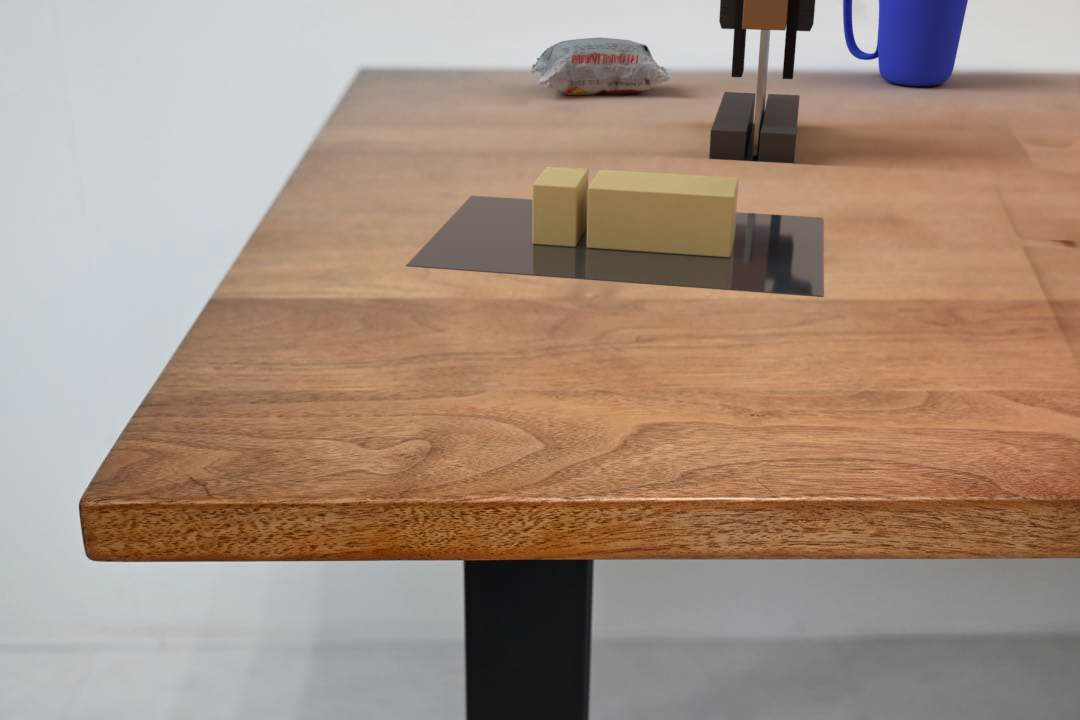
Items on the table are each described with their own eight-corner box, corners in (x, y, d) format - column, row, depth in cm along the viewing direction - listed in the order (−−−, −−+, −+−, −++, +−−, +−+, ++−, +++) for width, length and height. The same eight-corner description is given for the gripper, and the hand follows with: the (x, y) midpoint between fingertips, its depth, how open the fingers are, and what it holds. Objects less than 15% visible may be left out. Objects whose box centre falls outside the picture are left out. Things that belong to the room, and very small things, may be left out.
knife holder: (796, 132, 102) (799, 95, 101) (792, 175, 89) (796, 134, 88) (722, 128, 103) (724, 91, 102) (708, 171, 90) (710, 129, 89)
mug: (852, 67, 129) (862, -35, 125) (969, 80, 123) (984, -27, 119) (819, 79, 123) (829, -27, 119) (941, 93, 116) (955, -18, 113)
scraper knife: (779, 127, 100) (791, -30, 95) (775, 157, 91) (788, -14, 86) (741, 126, 101) (752, -30, 96) (734, 155, 92) (744, -16, 87)
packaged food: (670, 103, 112) (672, 46, 110) (537, 105, 111) (538, 48, 109) (653, 85, 120) (655, 32, 118) (529, 87, 119) (529, 34, 117)
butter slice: (587, 226, 74) (588, 168, 73) (575, 247, 70) (576, 186, 69) (546, 224, 74) (546, 166, 73) (532, 244, 71) (532, 184, 69)
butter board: (821, 236, 76) (823, 217, 76) (821, 318, 64) (823, 296, 63) (471, 213, 80) (470, 195, 80) (406, 286, 68) (405, 265, 67)
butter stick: (734, 236, 72) (738, 177, 71) (730, 258, 69) (734, 196, 67) (597, 227, 74) (599, 169, 72) (586, 248, 70) (587, 187, 69)
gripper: (661, -279, 83) (649, 79, 92) (914, -283, 80) (875, 88, 89) (673, -271, 89) (661, 62, 99) (906, -275, 86) (871, 70, 96)
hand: (762, 74), depth 94 cm, fingers closed on scraper knife, 3 cm apart
